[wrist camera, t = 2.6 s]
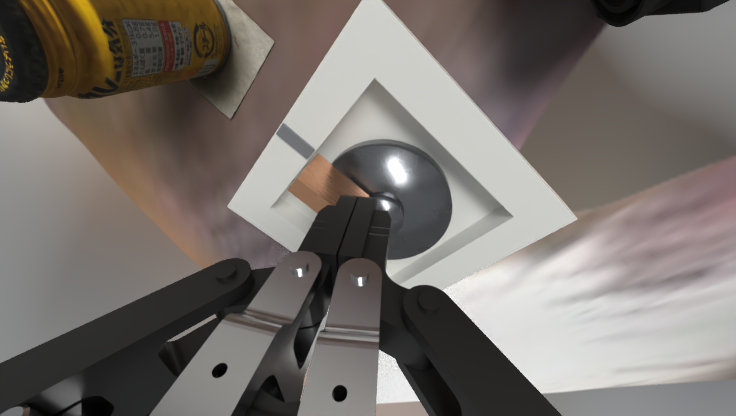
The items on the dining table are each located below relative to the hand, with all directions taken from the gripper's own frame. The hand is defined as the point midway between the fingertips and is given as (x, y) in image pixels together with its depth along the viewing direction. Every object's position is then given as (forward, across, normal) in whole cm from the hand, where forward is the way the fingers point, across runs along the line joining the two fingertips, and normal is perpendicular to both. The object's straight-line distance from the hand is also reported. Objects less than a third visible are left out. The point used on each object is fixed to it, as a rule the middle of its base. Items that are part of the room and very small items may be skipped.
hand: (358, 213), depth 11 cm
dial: (+10, 0, +6) cm, 12 cm away
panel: (+11, 0, +6) cm, 12 cm away
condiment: (+12, +14, -6) cm, 19 cm away
